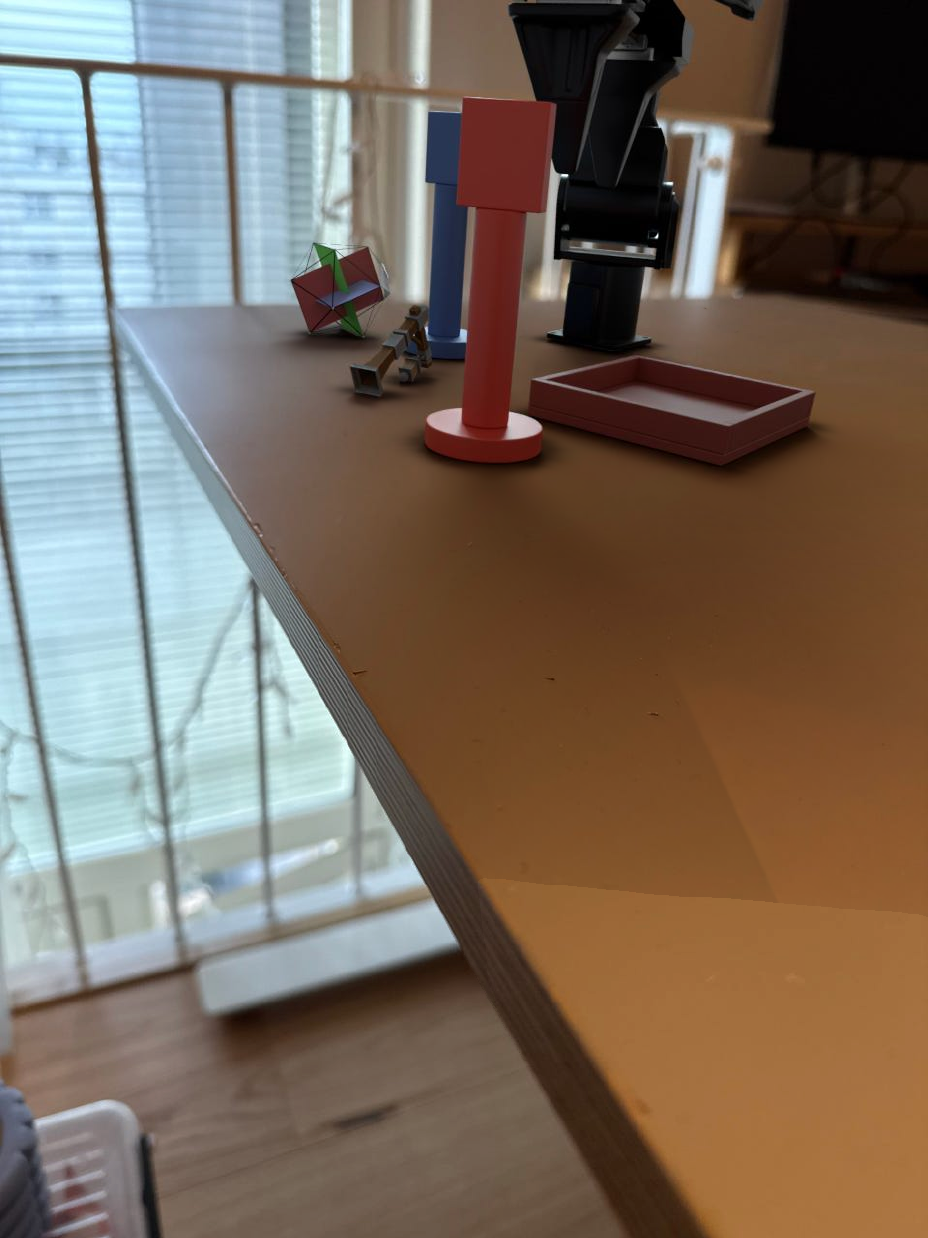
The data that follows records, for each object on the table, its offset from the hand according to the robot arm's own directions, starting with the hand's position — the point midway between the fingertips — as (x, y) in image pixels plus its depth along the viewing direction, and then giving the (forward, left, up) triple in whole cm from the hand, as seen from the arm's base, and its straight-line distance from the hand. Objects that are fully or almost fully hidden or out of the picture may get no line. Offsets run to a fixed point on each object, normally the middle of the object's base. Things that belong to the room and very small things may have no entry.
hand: (587, 181), depth 53 cm
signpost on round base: (+12, +3, -12) cm, 18 cm away
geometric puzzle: (-3, -23, -13) cm, 26 cm away
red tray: (-1, +7, -12) cm, 14 cm away
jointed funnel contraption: (+6, -9, -13) cm, 17 cm away
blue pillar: (-5, -14, -12) cm, 19 cm away
